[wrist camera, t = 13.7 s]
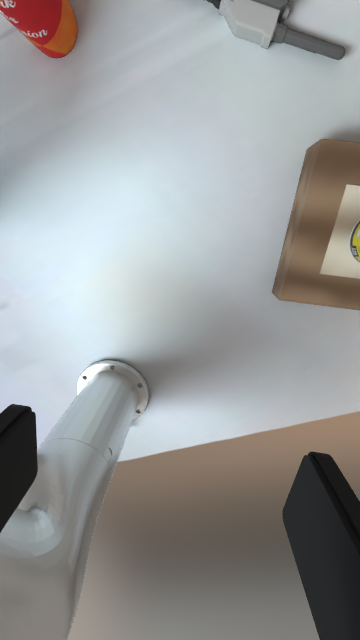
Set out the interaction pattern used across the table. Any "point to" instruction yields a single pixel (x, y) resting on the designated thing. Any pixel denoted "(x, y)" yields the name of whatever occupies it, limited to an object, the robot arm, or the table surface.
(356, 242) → the pill bottle
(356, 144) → the stand
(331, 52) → the walkie-talkie
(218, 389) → the table surface
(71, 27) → the paper cup
